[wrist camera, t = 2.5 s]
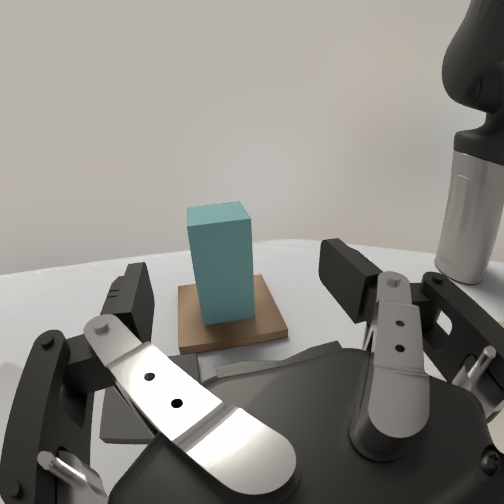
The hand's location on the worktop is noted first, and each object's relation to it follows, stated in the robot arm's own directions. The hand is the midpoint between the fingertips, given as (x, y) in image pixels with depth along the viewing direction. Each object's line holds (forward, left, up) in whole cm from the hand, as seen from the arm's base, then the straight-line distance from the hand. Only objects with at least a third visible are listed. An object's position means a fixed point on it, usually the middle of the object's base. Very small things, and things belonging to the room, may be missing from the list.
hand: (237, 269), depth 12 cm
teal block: (0, -12, -11) cm, 16 cm away
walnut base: (0, -12, -12) cm, 17 cm away
